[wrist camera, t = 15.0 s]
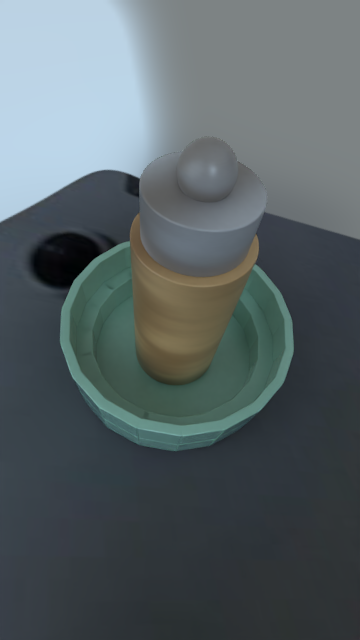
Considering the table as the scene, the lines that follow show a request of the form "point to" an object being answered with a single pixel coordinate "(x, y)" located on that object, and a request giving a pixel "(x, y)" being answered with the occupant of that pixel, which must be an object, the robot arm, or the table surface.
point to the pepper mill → (191, 255)
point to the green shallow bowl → (162, 399)
